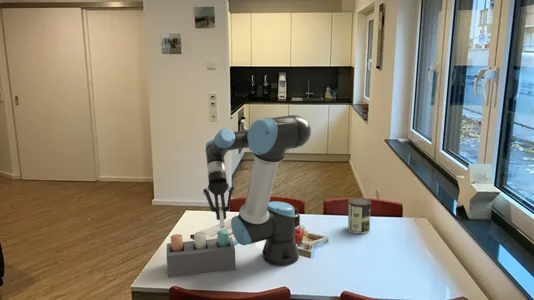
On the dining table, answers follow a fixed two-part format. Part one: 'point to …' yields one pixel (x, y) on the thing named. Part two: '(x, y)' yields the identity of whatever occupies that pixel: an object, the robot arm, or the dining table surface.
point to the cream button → (200, 240)
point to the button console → (200, 259)
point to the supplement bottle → (297, 217)
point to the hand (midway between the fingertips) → (222, 226)
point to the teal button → (223, 238)
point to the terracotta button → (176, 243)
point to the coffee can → (359, 215)
